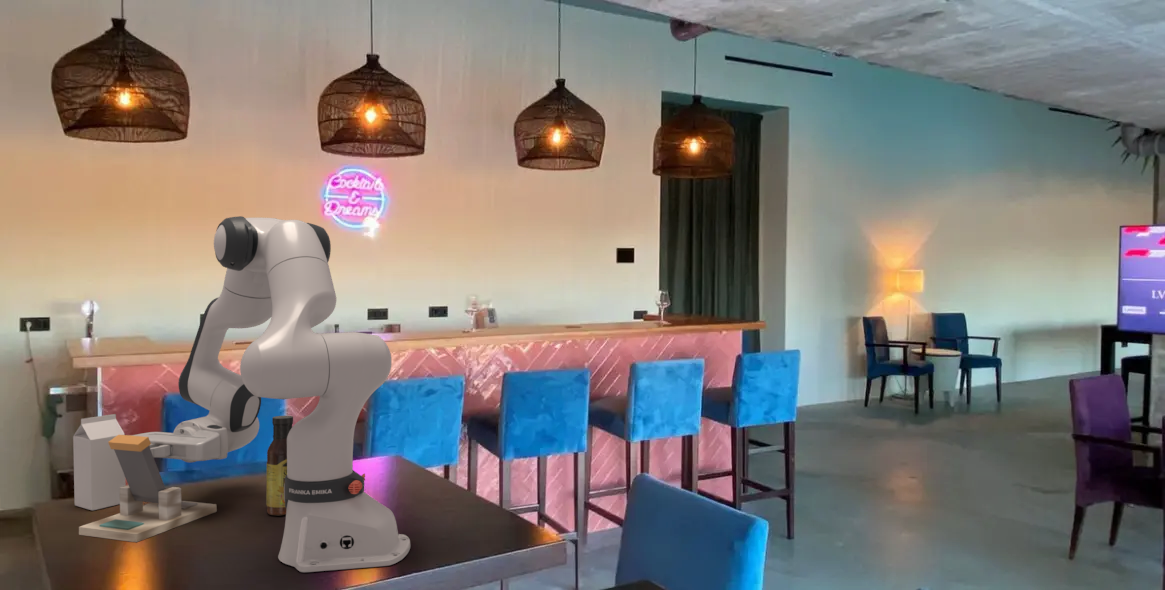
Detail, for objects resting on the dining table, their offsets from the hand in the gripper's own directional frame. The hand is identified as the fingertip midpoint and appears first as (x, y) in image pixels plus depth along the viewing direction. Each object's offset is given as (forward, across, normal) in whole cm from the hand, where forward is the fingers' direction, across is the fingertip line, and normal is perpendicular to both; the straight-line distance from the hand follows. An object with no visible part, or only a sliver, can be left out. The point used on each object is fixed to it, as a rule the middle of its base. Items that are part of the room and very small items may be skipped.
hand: (140, 454), depth 159 cm
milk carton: (-9, -20, +14) cm, 26 cm away
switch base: (-2, 0, +14) cm, 14 cm away
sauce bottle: (-16, +20, +14) cm, 30 cm away
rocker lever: (-2, 0, +9) cm, 9 cm away
